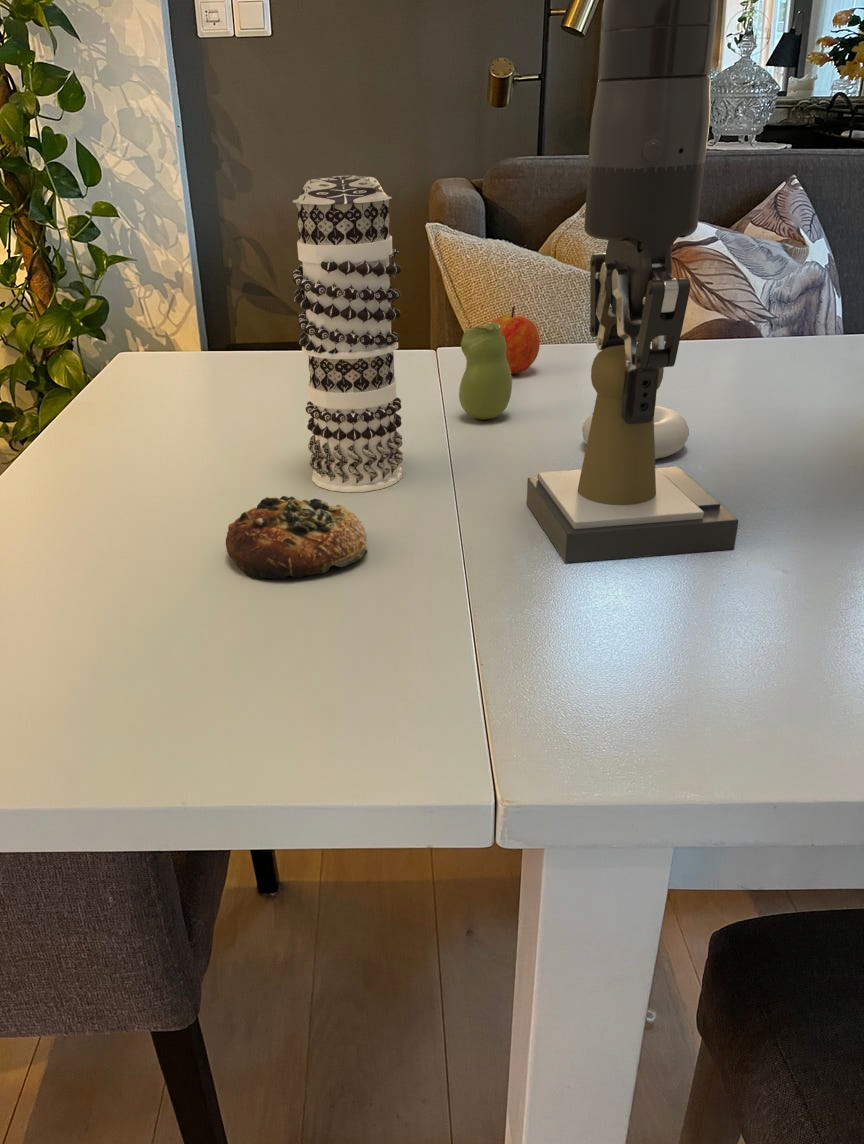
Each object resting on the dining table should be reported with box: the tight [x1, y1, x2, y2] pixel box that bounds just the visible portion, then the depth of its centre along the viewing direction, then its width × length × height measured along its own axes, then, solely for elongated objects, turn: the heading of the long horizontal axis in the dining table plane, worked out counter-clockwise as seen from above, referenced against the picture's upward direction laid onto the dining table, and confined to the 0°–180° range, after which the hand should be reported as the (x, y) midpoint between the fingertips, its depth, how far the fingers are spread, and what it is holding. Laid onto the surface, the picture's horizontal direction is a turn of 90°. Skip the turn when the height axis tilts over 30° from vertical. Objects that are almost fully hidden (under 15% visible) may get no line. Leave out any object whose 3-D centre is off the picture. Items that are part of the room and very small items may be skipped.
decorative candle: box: [291, 175, 404, 493], centre depth 82 cm, size 9×9×25 cm
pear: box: [458, 322, 513, 421], centre depth 100 cm, size 6×5×10 cm
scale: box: [526, 466, 740, 564], centre depth 75 cm, size 13×12×3 cm
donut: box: [581, 405, 690, 460], centre depth 91 cm, size 10×4×10 cm
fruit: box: [490, 306, 541, 375], centre depth 117 cm, size 7×7×8 cm
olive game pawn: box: [578, 345, 665, 505], centre depth 72 cm, size 6×6×11 cm
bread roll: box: [225, 495, 369, 580], centre depth 73 cm, size 11×11×5 cm
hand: (623, 409), depth 71 cm, fingers closed on olive game pawn, 5 cm apart
